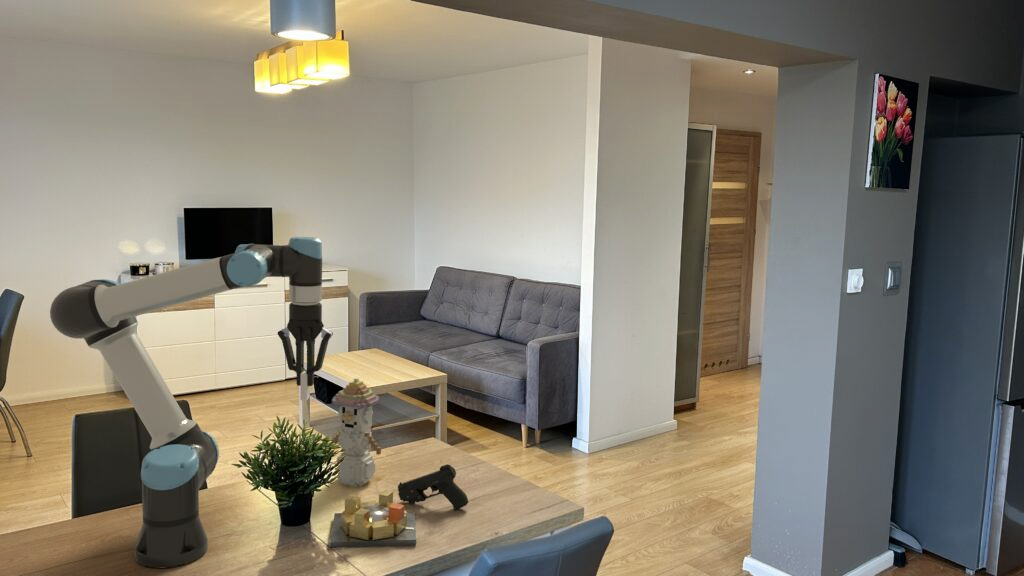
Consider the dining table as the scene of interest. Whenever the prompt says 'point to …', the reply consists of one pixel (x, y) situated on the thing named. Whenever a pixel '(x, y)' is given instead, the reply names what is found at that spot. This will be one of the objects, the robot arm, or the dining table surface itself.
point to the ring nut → (358, 518)
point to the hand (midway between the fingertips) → (305, 398)
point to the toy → (356, 433)
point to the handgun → (434, 488)
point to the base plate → (376, 514)
